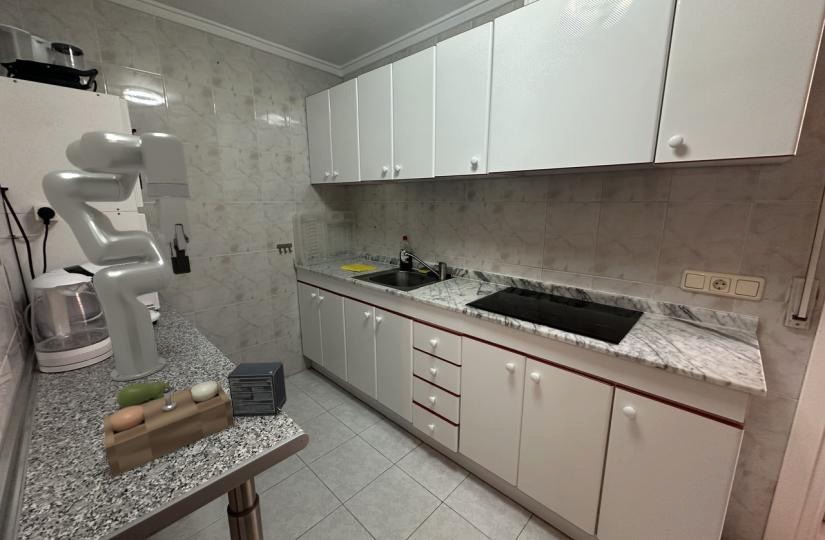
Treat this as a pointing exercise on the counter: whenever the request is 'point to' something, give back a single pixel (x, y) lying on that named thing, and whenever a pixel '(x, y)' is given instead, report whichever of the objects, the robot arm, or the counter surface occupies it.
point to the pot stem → (168, 400)
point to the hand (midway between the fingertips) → (182, 272)
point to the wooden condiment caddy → (166, 429)
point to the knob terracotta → (127, 418)
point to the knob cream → (204, 391)
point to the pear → (140, 393)
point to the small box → (257, 389)
